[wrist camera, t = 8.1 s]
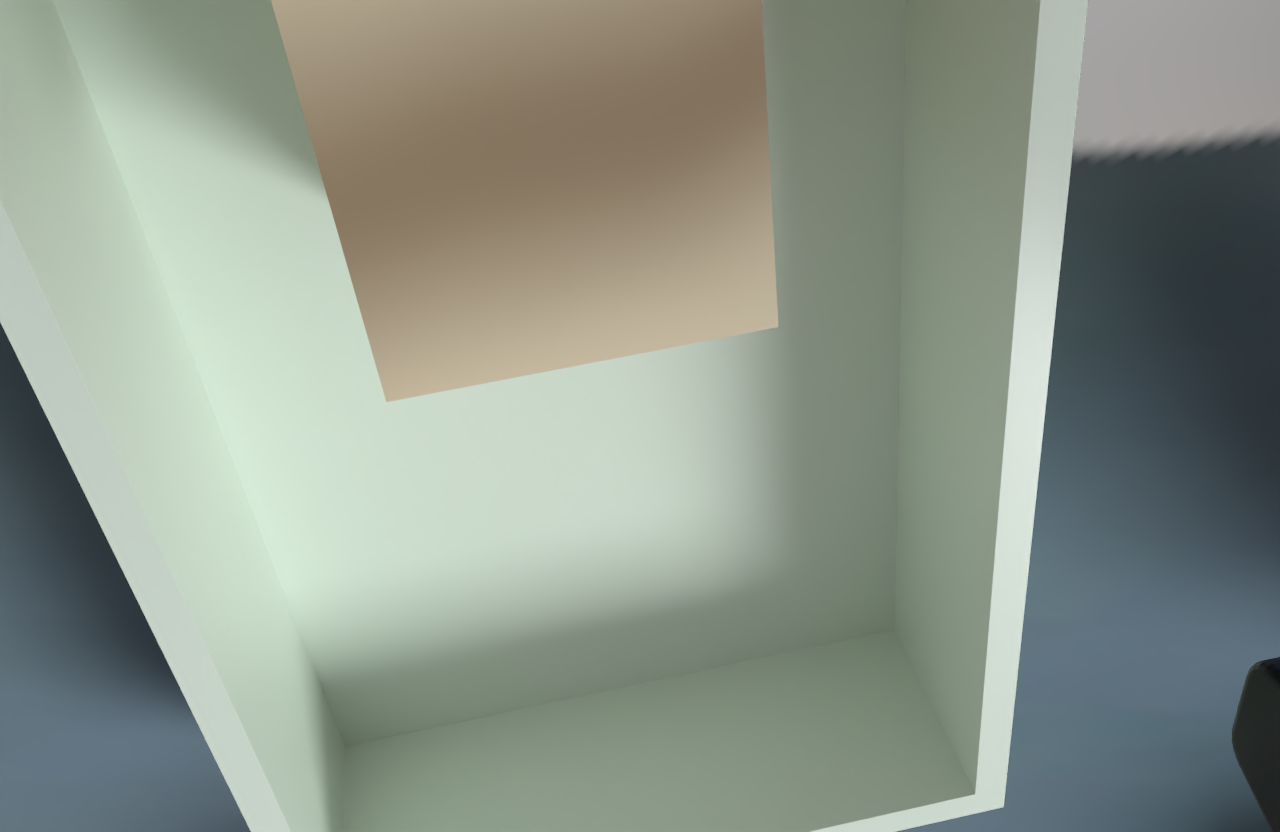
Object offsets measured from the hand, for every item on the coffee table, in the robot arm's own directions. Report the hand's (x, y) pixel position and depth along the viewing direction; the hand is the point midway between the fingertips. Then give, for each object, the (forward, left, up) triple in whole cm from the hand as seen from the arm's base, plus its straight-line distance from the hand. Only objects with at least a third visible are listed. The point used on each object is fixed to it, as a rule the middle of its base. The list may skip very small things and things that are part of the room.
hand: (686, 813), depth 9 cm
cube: (0, -2, -12) cm, 12 cm away
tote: (0, +3, -13) cm, 13 cm away
